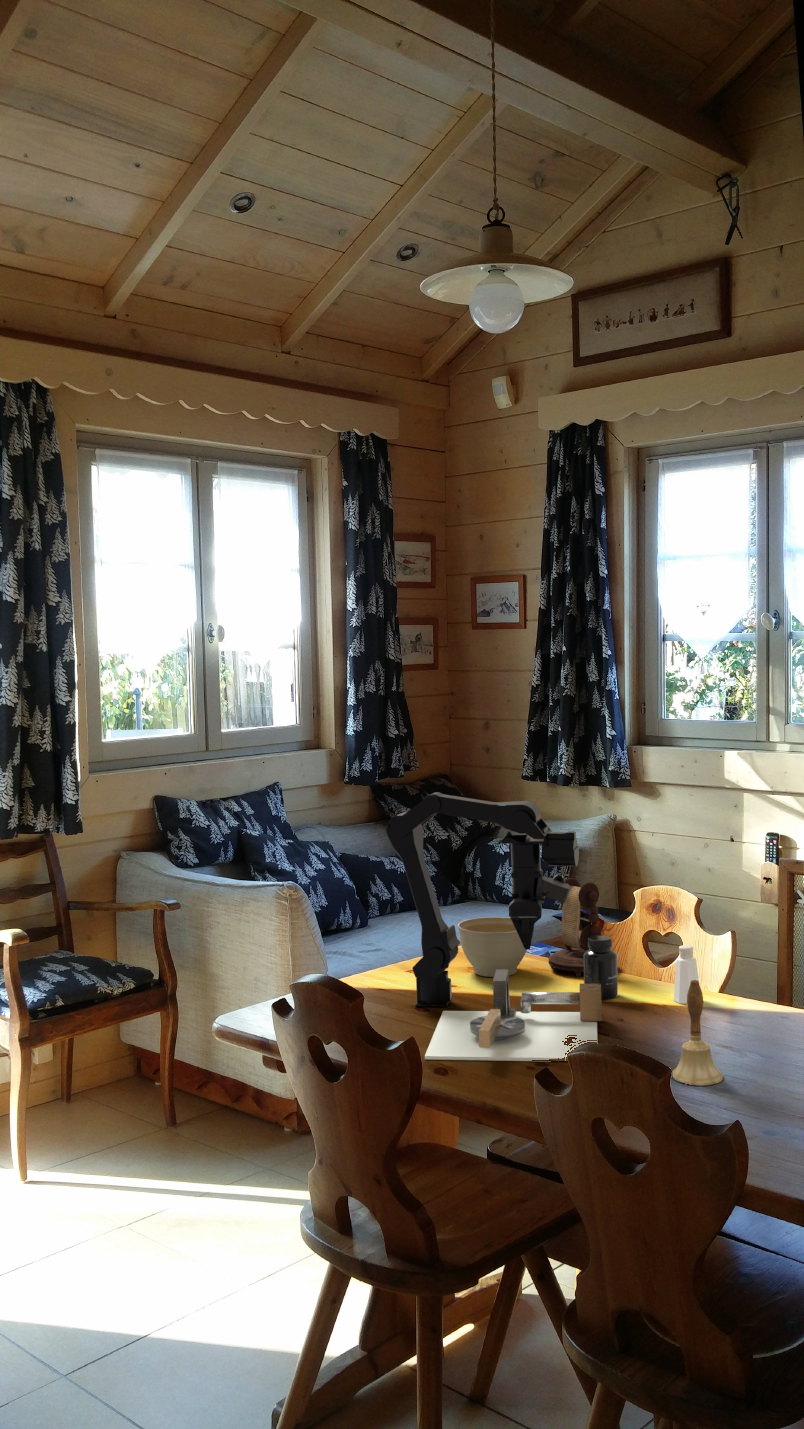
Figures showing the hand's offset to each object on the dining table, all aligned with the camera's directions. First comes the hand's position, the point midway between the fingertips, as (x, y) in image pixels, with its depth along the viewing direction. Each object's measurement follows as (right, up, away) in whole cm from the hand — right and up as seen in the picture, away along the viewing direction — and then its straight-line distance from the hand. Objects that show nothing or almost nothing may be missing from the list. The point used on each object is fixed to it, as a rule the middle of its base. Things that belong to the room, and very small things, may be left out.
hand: (528, 943), depth 237 cm
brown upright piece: (+15, -12, +29) cm, 34 cm away
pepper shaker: (+32, -12, +2) cm, 34 cm away
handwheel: (-9, -12, -23) cm, 27 cm away
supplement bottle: (+16, -12, +7) cm, 21 cm away
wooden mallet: (+5, -12, -9) cm, 16 cm away
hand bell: (+23, -14, -41) cm, 50 cm away
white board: (-4, -14, -17) cm, 22 cm away
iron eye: (-6, -14, -7) cm, 17 cm away
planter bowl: (-4, -12, +29) cm, 31 cm away
